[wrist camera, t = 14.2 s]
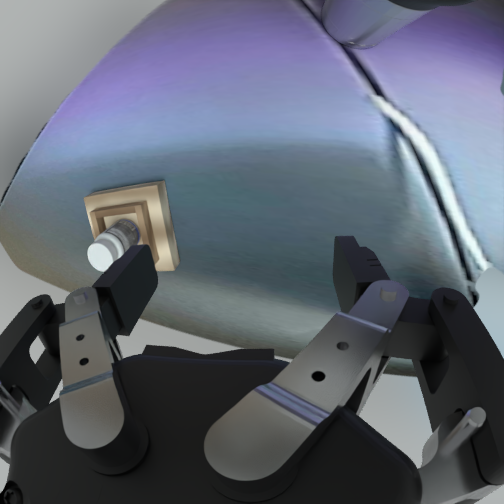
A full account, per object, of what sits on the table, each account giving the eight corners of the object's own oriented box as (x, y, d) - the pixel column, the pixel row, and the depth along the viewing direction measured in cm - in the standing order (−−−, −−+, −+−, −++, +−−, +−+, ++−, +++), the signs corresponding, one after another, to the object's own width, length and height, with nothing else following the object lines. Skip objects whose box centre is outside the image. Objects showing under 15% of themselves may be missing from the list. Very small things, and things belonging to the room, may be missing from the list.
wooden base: (93, 192, 42) (76, 201, 37) (164, 180, 40) (151, 188, 36) (112, 264, 47) (98, 278, 42) (180, 261, 46) (170, 277, 41)
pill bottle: (122, 251, 42) (96, 278, 35) (109, 224, 40) (79, 247, 33) (146, 242, 41) (121, 269, 34) (132, 213, 39) (103, 235, 32)
